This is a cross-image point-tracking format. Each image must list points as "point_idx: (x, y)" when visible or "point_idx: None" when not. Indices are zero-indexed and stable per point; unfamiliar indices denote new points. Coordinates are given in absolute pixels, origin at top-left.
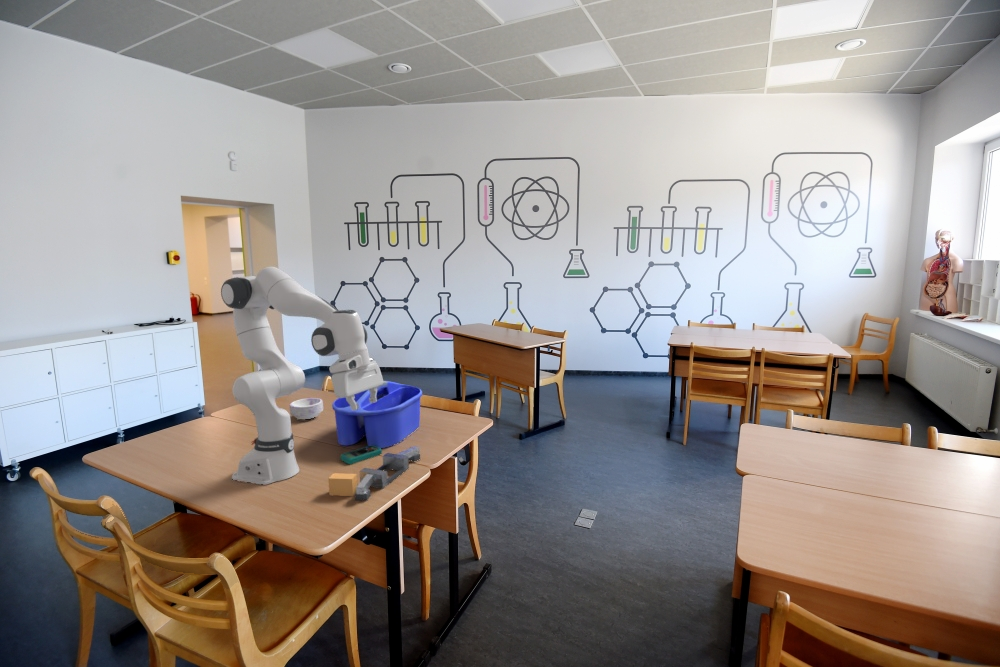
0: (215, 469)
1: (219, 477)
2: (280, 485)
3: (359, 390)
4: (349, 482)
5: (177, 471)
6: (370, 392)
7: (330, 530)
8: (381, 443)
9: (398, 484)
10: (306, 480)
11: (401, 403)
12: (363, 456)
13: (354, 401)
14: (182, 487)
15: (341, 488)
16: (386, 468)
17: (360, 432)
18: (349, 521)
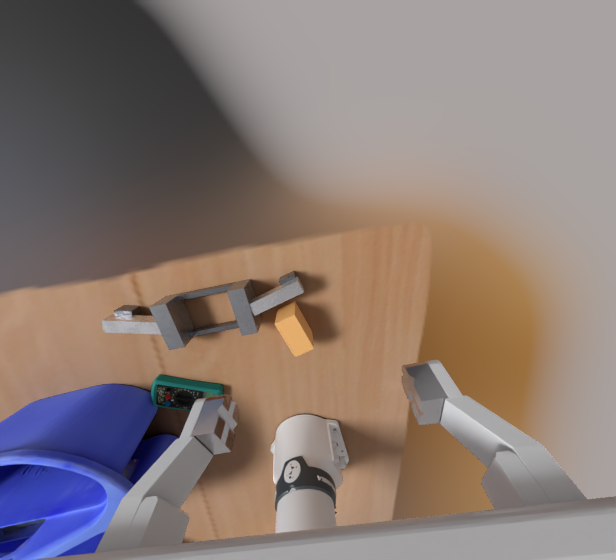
0: (337, 493)
1: (349, 473)
2: (326, 405)
3: (477, 556)
4: (297, 315)
5: (361, 514)
6: (182, 503)
7: (388, 248)
8: (138, 397)
9: (221, 268)
10: (297, 392)
11: None
12: (193, 385)
13: (484, 418)
14: (386, 479)
15: (303, 322)
16: (193, 327)
17: (140, 451)
18: (356, 244)
